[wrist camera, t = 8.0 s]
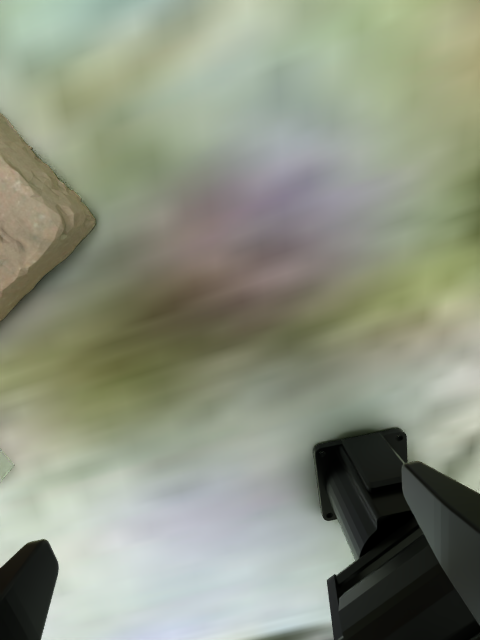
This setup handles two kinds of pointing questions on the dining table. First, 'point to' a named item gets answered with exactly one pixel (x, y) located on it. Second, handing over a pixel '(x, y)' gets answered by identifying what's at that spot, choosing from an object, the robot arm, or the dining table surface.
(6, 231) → the brick
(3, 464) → the grey block
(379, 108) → the dining table surface
